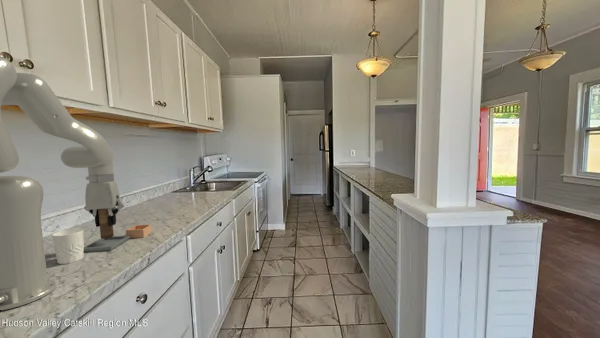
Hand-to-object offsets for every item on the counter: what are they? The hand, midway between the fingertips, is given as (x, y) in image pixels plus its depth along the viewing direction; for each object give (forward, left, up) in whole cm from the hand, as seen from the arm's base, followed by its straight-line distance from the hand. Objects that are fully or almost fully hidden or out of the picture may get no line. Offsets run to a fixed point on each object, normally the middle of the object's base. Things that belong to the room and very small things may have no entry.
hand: (106, 224), depth 97 cm
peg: (0, 0, -5) cm, 5 cm away
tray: (0, 0, -9) cm, 9 cm away
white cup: (-11, +5, -9) cm, 15 cm away
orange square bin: (+10, -6, -9) cm, 15 cm away
